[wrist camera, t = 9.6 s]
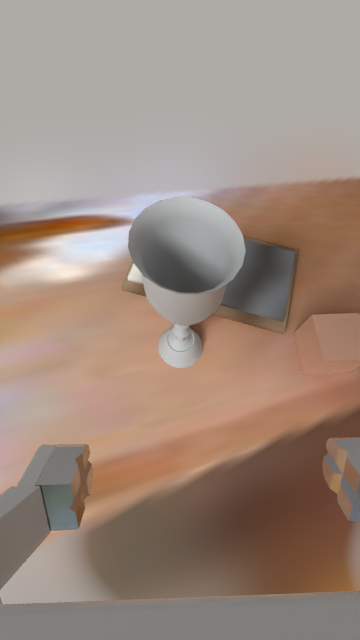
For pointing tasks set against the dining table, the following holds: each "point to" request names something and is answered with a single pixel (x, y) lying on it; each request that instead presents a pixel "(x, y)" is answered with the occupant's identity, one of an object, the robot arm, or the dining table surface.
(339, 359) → the terracotta cube
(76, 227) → the dining table surface
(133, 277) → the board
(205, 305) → the chalice
